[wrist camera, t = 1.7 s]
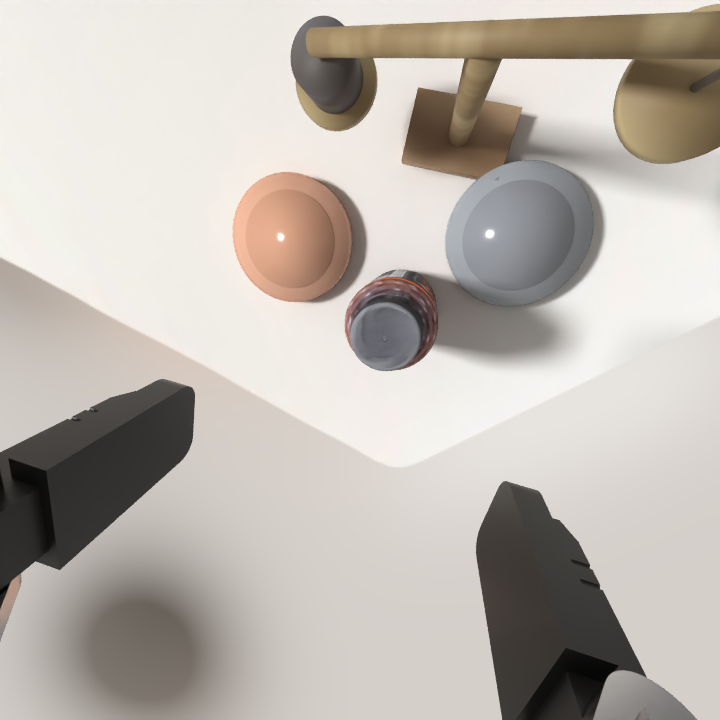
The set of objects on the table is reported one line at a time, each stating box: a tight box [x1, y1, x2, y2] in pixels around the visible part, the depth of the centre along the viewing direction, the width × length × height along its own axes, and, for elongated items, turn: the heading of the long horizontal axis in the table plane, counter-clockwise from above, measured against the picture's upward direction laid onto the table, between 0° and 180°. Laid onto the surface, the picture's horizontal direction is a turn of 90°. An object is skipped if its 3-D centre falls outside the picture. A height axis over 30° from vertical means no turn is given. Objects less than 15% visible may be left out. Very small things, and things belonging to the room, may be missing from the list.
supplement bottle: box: [345, 270, 438, 371], centre depth 24 cm, size 6×6×11 cm
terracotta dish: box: [233, 172, 352, 302], centre depth 29 cm, size 10×10×1 cm
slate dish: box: [445, 160, 593, 306], centre depth 26 cm, size 10×10×1 cm
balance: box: [291, 4, 720, 181], centre depth 17 cm, size 5×20×17 cm, turn 77°
